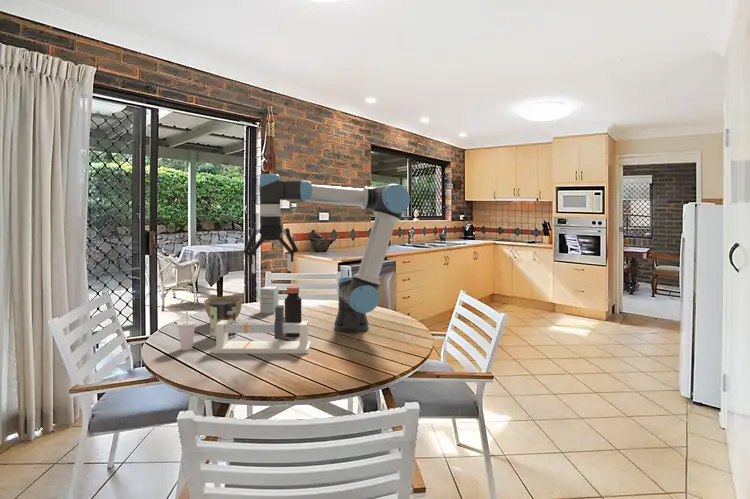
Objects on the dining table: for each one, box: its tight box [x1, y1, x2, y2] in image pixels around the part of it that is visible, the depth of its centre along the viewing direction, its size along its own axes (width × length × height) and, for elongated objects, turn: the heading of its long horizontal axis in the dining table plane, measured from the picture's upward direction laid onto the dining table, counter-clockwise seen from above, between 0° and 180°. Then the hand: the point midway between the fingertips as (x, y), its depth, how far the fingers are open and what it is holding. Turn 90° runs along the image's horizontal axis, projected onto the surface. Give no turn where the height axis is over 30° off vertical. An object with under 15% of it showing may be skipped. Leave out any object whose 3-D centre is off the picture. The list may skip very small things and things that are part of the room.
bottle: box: [284, 285, 302, 338], centre depth 177 cm, size 7×7×20 cm
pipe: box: [224, 322, 300, 334], centre depth 158 cm, size 29×3×3 cm, turn 92°
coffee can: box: [209, 300, 238, 340], centre depth 174 cm, size 10×10×14 cm
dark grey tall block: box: [274, 304, 285, 340], centre depth 158 cm, size 2×7×11 cm, turn 2°
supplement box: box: [259, 285, 279, 314], centre depth 218 cm, size 7×7×13 cm
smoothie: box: [176, 310, 197, 351], centre depth 157 cm, size 6×6×14 cm
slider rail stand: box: [211, 320, 312, 354], centre depth 158 cm, size 34×10×10 cm, turn 92°
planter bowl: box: [204, 296, 243, 319], centre depth 194 cm, size 16×16×11 cm
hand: (271, 271), depth 163 cm, fingers open, 13 cm apart
